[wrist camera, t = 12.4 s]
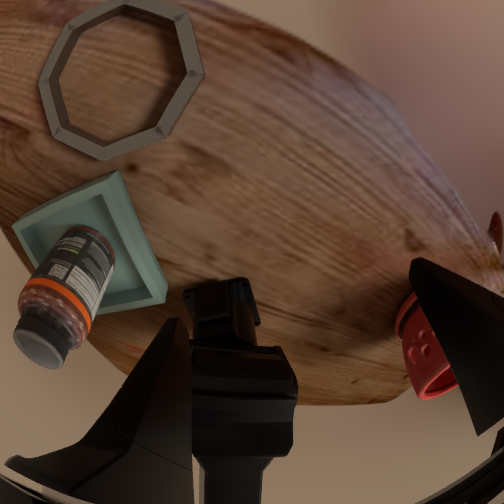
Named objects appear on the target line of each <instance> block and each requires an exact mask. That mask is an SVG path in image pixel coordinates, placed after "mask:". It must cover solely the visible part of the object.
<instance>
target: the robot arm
mask: <svg viewBox="0 0 504 504" xmlns="http://www.w3.org/2000/svg"><path fill="white" fill-rule="evenodd" d="M409 281H410V283H411V286H412V288H413V290H414V292H415V295H416V297H417V299H418V301H419V304H420V306H421V308H422V310H423V312H424V314H425V316H426V318H427V320H428V322H429V324H430V326H431V328H432V330H433V331H434V333H435V335H436V337H437V339H438V341H439V343H440V345H441V347H442V349H443V352H444V354H445V356H446V358H447V360H448V362H449V364H450V367H451V369H452V371H453V373H454V376H455V378H456V380H457V383H458V385H459V387H460V390H461V392H462V394H463V398H464V400H465V403H466V406H467V408H468V411H469V414H470V416H471V419H472V422H473V425H474V428H475V431H476V434H477V436H479V435H481V434H482V433H484V432H485V431H486V430H488V429H489V428H490V427H492V426H493V425H494V424H496V423H497V422H498V421H500V420H501V419H502V418H503V417H504V298H503V297H501V296H499V295H497V294H495V293H494V292H492V291H489V290H488V289H486V288H484V287H482V286H480V285H478V284H476V283H474V282H472V281H470V280H468V279H466V278H464V277H462V276H460V275H458V274H456V273H454V272H452V271H450V270H448V269H446V268H444V267H442V266H440V265H437V264H435V263H433V262H431V261H429V260H427V259H425V258H422V257H418V258H415V259H413V260H412V261H411V265H410V270H409ZM242 283H246V284H242ZM186 295H189V296H186ZM182 297H183V300H184V302H185V304H186V306H187V308H188V310H189V311H190V313H191V315H192V317H193V319H194V323H193V339H189V333H188V330H187V328H186V327H185V325H184V323H183V321H182V320H181V318H180V317H179V316H175V317H170V318H168V319H167V321H166V322H165V323H164V325H163V326H162V328H161V329H160V331H159V332H158V333H157V335H156V336H155V338H154V339H153V341H152V342H151V344H150V345H149V346H148V348H147V349H146V351H145V352H144V354H143V355H142V357H141V358H140V360H139V361H138V363H137V364H136V366H135V367H134V368H133V370H132V371H131V373H130V374H129V376H128V377H127V379H126V381H125V382H124V384H123V385H122V388H120V389H119V391H118V392H117V394H116V395H115V397H114V398H113V400H112V401H111V403H110V404H109V405H108V407H107V408H106V409H105V411H104V412H103V413H102V415H101V416H100V417H99V418H98V420H97V421H96V422H95V423H94V425H93V426H92V427H91V428H90V430H89V431H88V432H87V434H86V435H85V436H84V437H83V438H82V439H81V440H80V441H79V442H77V443H75V444H74V445H71V446H69V447H66V448H63V449H60V450H58V451H54V452H51V453H48V454H45V455H42V456H39V457H35V458H24V457H22V456H19V455H15V456H12V457H11V458H9V459H8V460H7V461H6V462H5V464H4V465H5V466H7V467H8V468H10V469H12V470H14V471H15V472H18V473H19V474H21V475H23V476H25V477H27V478H29V479H31V480H33V481H35V482H37V483H39V484H41V485H43V486H42V492H39V491H37V490H34V489H32V488H29V487H27V486H25V485H23V484H21V483H18V482H16V481H14V480H12V479H10V478H8V477H6V476H4V475H2V474H0V504H194V489H193V471H192V454H193V455H194V457H195V458H196V460H197V461H198V463H199V464H200V475H199V504H261V491H262V476H263V471H264V470H265V468H266V467H267V466H268V465H269V464H270V462H271V461H272V460H273V458H274V457H285V456H287V455H288V453H289V451H290V449H291V447H292V445H293V415H294V408H295V406H296V402H297V397H298V384H297V379H296V376H295V373H294V372H293V370H292V368H291V366H290V364H289V362H288V360H287V358H286V356H285V354H284V353H283V351H282V349H281V347H280V346H273V347H267V346H257V339H256V332H255V327H256V326H259V325H260V324H261V321H260V317H259V313H258V310H257V306H256V303H255V299H254V296H253V292H252V289H251V285H250V282H249V280H248V279H247V278H241V279H236V280H232V281H227V282H222V283H218V284H213V285H209V286H204V287H199V288H195V289H190V290H186V291H184V292H183V295H182ZM415 504H504V427H502V428H501V429H500V430H499V431H498V433H497V437H496V440H495V444H494V447H493V450H492V453H491V457H490V458H488V459H487V460H485V461H484V462H483V463H481V464H480V465H479V466H477V467H476V468H475V469H473V470H472V471H470V472H469V473H467V474H466V475H464V476H463V477H461V478H460V479H458V480H457V481H455V482H453V483H452V484H450V485H448V486H447V487H445V488H443V489H442V490H440V491H438V492H436V493H434V494H433V495H431V496H429V497H427V498H425V499H423V500H421V501H419V502H417V503H415Z"/></svg>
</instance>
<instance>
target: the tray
mask: <svg viewBox="0 0 504 504" xmlns="http://www.w3.org/2000/svg"><path fill="white" fill-rule="evenodd" d="M11 226H12V228H13V230H14V232H15V234H16V236H17V237H18V239H19V241H20V243H21V245H22V247H23V249H24V250H25V252H26V254H27V256H28V257H29V259H30V261H31V262H32V264H33V266H34V267H35V269H37V268H38V266H39V265H40V263H41V262H42V261H43V259H44V258H45V257H46V255H47V254H48V253H49V251H50V250H51V249H52V247H53V246H54V245H55V244H56V242H57V241H58V240H59V239H60V237H61V236H62V235H63V234H64V233H65V232H66V231H67V230H68V229H70V228H72V227H75V226H87V227H91V228H93V229H95V230H97V231H98V232H100V233H101V234H102V235H104V237H105V238H107V240H108V241H109V243H110V244H111V246H112V248H113V250H114V253H115V259H116V260H115V268H114V271H113V274H112V277H111V278H110V280H109V284H108V285H107V287H108V288H106V290H105V292H104V295H103V297H102V299H101V302H100V305H99V307H98V310H97V312H96V315H101V314H107V313H112V312H118V311H124V310H129V309H135V308H140V307H146V306H151V305H156V304H161V303H165V300H166V295H167V290H168V285H169V284H168V282H167V280H166V278H165V276H164V274H163V272H162V270H161V268H160V266H159V264H158V262H157V260H156V258H155V255H154V253H153V251H152V249H151V247H150V245H149V242H148V240H147V238H146V236H145V233H144V231H143V229H142V227H141V224H140V222H139V220H138V217H137V215H136V212H135V210H134V208H133V205H132V203H131V200H130V198H129V195H128V193H127V190H126V188H125V185H124V182H123V180H122V177H121V174H120V172H119V169H118V170H116V171H113V172H111V173H108V174H106V175H103V176H101V177H99V178H96V179H94V180H91V181H89V182H87V183H85V184H82V185H80V186H78V187H76V188H73V189H71V190H69V191H67V192H65V193H63V194H61V195H59V196H57V197H55V198H53V199H51V200H49V201H47V202H45V203H43V204H41V205H39V206H37V207H35V208H33V209H31V210H30V211H28V212H26V213H24V214H23V215H22V216H21V217H20V218H19V219H18V220H17V221H16V222H15V223H14V224H13V225H11Z"/></svg>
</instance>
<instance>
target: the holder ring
mask: <svg viewBox="0 0 504 504" xmlns="http://www.w3.org/2000/svg"><path fill="white" fill-rule="evenodd" d="M130 9H133V10H137V11H140V12H143V13H146V14H149V15H151V16H154V17H157V18H160V19H162V20H165V21H168V22H170V23H173V24H175V26H176V30H177V34H178V38H179V42H180V46H181V50H182V54H183V58H184V62H185V66H186V70H187V75H186V77H185V78H184V80H183V81H182V83H181V84H180V86H179V88H178V89H177V91H176V93H175V94H174V96H173V98H172V99H171V101H170V103H169V104H168V106H167V108H166V110H165V111H164V113H163V115H162V117H161V118H160V120H159V122H158V124H157V126H154V127H151V128H149V129H146V130H143V131H140V132H138V133H135V134H132V135H130V136H127V137H125V138H122V139H120V140H117V141H115V142H113V143H110V142H107V141H105V140H103V139H101V138H99V137H97V136H95V135H93V134H90V133H88V132H86V131H84V130H82V129H80V128H77V127H75V126H73V125H71V124H70V122H69V118H68V115H67V111H66V108H65V104H64V101H63V97H62V93H61V89H60V85H59V81H58V79H59V77H60V75H61V72H62V70H63V68H64V66H65V64H66V62H67V60H68V58H69V56H70V54H71V52H72V50H73V48H74V46H75V44H76V42H77V40H78V39H79V37H80V35H81V33H82V32H84V31H86V30H87V29H89V28H91V27H93V26H95V25H97V24H99V23H101V22H103V21H105V20H107V19H109V18H111V17H113V16H116V15H118V14H120V13H122V12H125V11H127V10H130ZM204 75H205V72H204V68H203V64H202V60H201V56H200V52H199V48H198V44H197V40H196V36H195V32H194V28H193V24H192V20H191V17H190V15H189V12H187V11H186V10H183V9H181V8H178V7H176V6H173V5H170V4H167V3H165V2H162V1H159V0H108V1H106V2H104V3H102V4H100V5H98V6H96V7H94V8H92V9H90V10H88V11H86V12H84V13H83V14H81V15H79V16H77V17H76V18H74V19H72V20H70V21H69V22H68V24H66V25H65V27H64V28H63V30H62V32H61V34H60V36H59V38H58V39H57V41H56V43H55V45H54V47H53V49H52V51H51V53H50V56H49V58H48V60H47V62H46V64H45V67H44V69H43V71H42V74H41V76H40V79H39V83H38V85H39V89H40V93H41V98H42V102H43V105H44V109H45V113H46V116H47V120H48V123H49V127H50V130H51V133H52V136H53V137H54V139H57V140H59V141H61V142H63V143H65V144H67V145H69V146H71V147H73V148H75V149H77V150H80V151H82V152H84V153H86V154H88V155H90V156H92V157H94V158H96V159H98V160H100V161H107V160H109V159H111V158H114V157H116V156H119V155H121V154H124V153H127V152H129V151H132V150H134V149H137V148H140V147H143V146H145V145H148V144H151V143H154V142H157V141H160V140H163V139H165V138H166V137H167V136H169V135H170V134H171V132H172V130H173V128H174V127H175V125H176V123H177V121H178V120H179V118H180V116H181V115H182V113H183V111H184V110H185V108H186V106H187V105H188V103H189V101H190V100H191V98H192V96H193V95H194V93H195V92H196V90H197V89H198V87H199V86H200V84H201V83H202V81H203V79H204V78H205V77H204Z"/></svg>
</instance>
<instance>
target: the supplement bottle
mask: <svg viewBox="0 0 504 504" xmlns="http://www.w3.org/2000/svg"><path fill="white" fill-rule="evenodd" d="M115 260H116V259H115V253H114V250H113V248H112V246H111V244H110V243H109V241H108V240H107V238H105V237H104V235H102V234H101V233H100V232H98V231H97V230H95V229H93V228H91V227H87V226H75V227H72V228H70V229H68V230H67V231H66V232H65V233H64V234H63V235H62V236H61V237H60V239H59V240H58V241H57V242H56V244H55V245H54V246H53V247H52V249H51V250H50V251H49V253H48V254H47V255H46V257H45V258H44V259H43V261H42V262H41V263H40V265H39V266H38V268H37V269H36V270H35V272H34V273H33V275H32V276H31V278H30V279H29V281H28V282H27V284H26V285H25V287H24V288H23V290H22V292H21V293H20V295H19V299H18V310H19V314H20V317H21V318H20V319H19V321H18V325H17V326H16V328H15V331H14V333H13V338H14V341H15V343H16V345H17V347H18V348H19V349H20V350H21V351H22V352H23V353H24V354H25V355H26V356H27V357H28V358H29V359H30V360H32V361H33V362H35V363H37V364H38V365H40V366H43V367H45V368H49V369H59V368H61V367H62V366H63V364H64V361H65V358H66V356H67V354H68V350H74V349H77V348H78V347H80V346H81V345H82V344H83V343H84V342H85V340H86V338H87V336H88V333H89V330H90V328H91V326H92V323H93V320H94V318H95V315H96V312H97V310H98V307H99V305H100V302H101V299H102V297H103V295H104V292H105V290H106V288H108V287H107V285H108V284H109V280H110V278H111V277H112V274H113V271H114V268H115Z"/></svg>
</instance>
